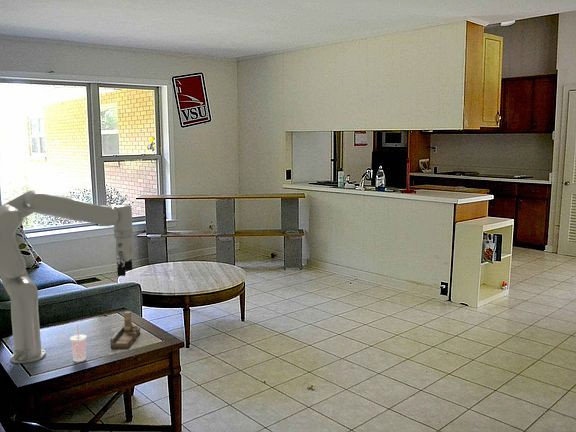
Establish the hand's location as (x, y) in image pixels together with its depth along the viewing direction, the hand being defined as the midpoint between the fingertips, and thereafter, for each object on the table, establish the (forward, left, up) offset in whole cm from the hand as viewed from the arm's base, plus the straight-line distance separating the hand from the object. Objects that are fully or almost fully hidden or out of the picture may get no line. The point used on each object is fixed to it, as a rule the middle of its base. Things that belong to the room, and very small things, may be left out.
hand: (125, 272), depth 229 cm
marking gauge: (0, -1, -26) cm, 26 cm away
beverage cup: (-26, +11, -28) cm, 40 cm away
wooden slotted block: (-6, -1, -28) cm, 29 cm away
